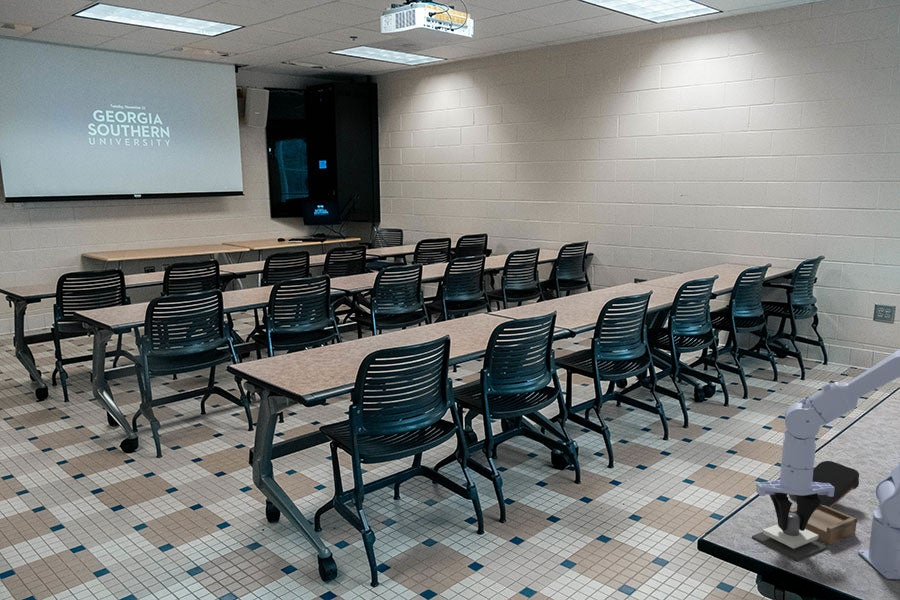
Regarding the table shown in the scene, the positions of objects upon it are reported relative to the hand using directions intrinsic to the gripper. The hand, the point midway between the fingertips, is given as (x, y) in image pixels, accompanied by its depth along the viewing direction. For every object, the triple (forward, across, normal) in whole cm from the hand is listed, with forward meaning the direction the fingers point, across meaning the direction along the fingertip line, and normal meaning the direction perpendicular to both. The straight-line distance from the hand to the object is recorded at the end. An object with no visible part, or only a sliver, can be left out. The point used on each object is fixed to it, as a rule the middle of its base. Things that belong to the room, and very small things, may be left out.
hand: (791, 528), depth 137 cm
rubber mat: (+3, 0, 0) cm, 3 cm away
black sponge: (+1, -16, -17) cm, 23 cm away
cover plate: (+2, 0, 0) cm, 2 cm away
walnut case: (+3, -9, -5) cm, 11 cm away
